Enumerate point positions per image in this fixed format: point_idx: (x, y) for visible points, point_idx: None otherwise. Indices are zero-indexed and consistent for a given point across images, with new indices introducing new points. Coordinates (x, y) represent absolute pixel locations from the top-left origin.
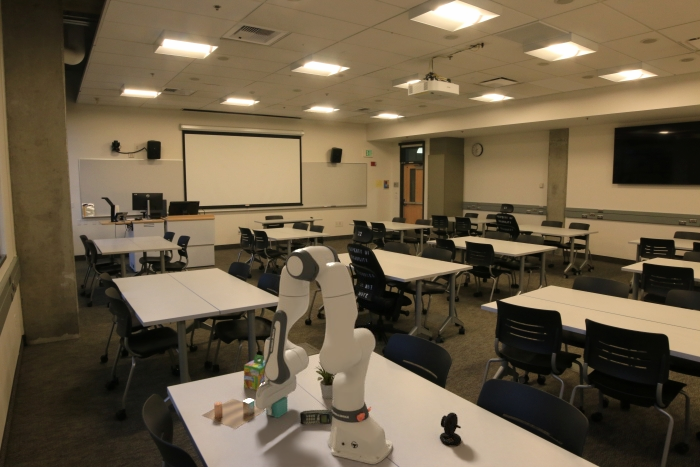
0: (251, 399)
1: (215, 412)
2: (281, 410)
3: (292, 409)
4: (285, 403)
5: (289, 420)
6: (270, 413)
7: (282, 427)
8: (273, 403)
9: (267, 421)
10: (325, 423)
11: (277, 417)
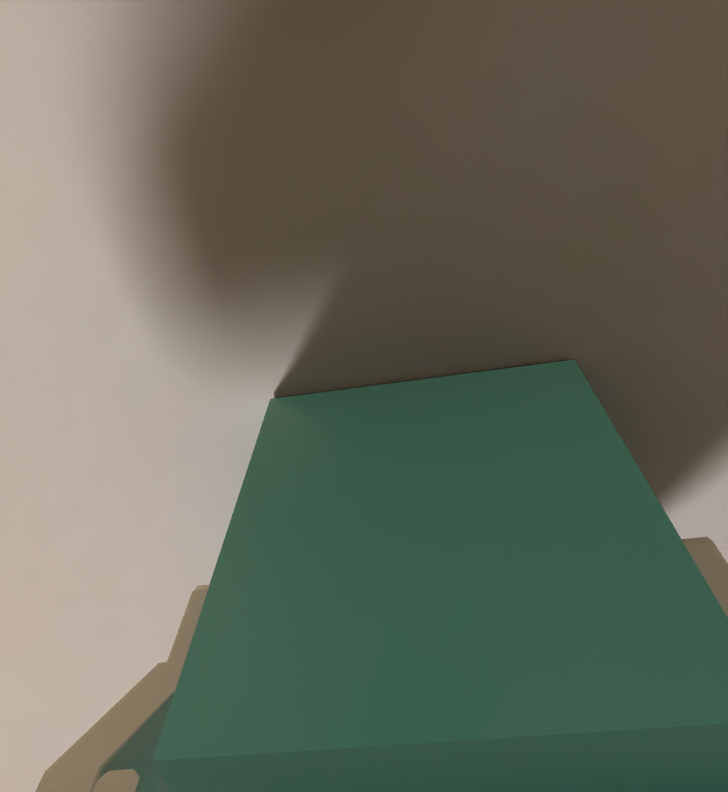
0: None
1: None
2: (476, 487)
3: (82, 470)
4: (290, 603)
5: (384, 209)
6: (720, 571)
7: (721, 87)
8: None
9: (669, 490)
10: None
11: (599, 407)
